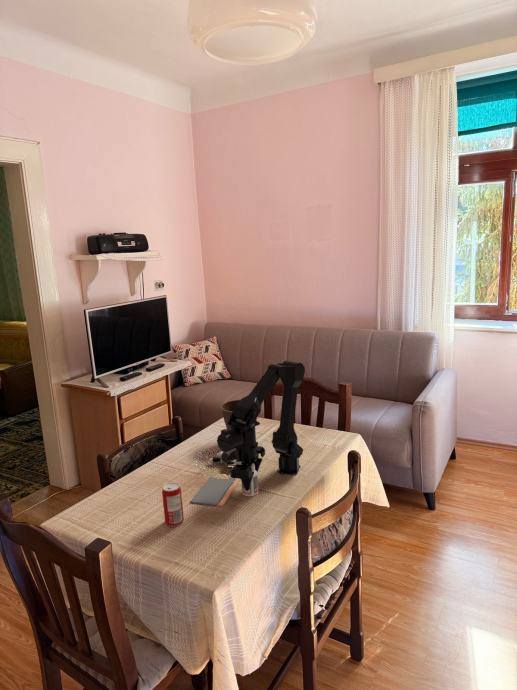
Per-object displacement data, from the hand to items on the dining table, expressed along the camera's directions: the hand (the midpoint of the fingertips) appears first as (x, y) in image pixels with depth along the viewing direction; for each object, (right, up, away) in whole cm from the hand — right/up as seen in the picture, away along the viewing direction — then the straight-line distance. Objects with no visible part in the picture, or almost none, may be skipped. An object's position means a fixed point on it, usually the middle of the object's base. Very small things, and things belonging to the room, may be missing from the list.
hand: (249, 485), depth 160 cm
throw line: (-6, -2, +2) cm, 7 cm away
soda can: (-22, -7, -14) cm, 27 cm away
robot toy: (-7, +2, +22) cm, 23 cm away
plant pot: (-4, +6, +41) cm, 41 cm away
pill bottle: (0, -3, +1) cm, 3 cm away
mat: (-12, -2, +4) cm, 13 cm away
